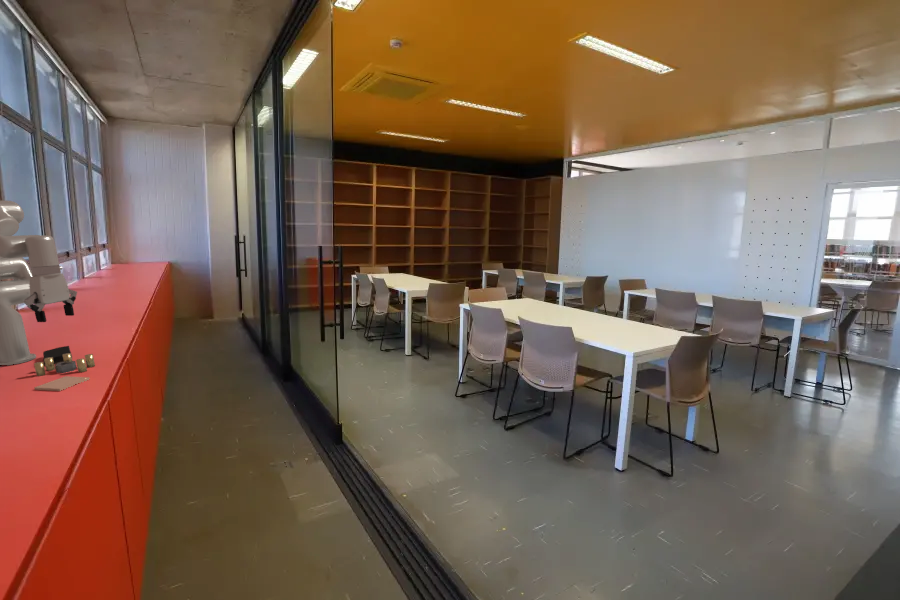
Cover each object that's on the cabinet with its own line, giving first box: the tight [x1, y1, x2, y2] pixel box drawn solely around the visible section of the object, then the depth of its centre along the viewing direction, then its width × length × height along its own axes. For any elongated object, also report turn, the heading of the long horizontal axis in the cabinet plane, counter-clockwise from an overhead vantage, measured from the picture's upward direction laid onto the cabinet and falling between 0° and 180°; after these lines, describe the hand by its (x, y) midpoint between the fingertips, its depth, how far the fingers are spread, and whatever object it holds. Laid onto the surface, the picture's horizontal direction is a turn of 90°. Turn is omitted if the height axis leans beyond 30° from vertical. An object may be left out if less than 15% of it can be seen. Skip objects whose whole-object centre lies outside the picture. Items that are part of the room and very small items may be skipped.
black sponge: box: [42, 345, 73, 366], centre depth 176 cm, size 16×8×4 cm, turn 43°
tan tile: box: [34, 375, 91, 392], centre depth 148 cm, size 10×10×1 cm
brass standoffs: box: [33, 352, 96, 377], centre depth 162 cm, size 16×12×4 cm
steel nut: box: [54, 360, 78, 374], centre depth 162 cm, size 6×5×3 cm
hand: (56, 318), depth 158 cm, fingers open, 9 cm apart
